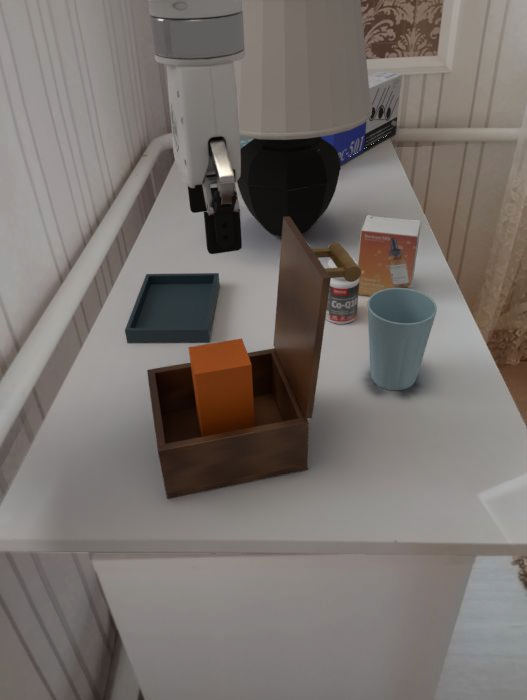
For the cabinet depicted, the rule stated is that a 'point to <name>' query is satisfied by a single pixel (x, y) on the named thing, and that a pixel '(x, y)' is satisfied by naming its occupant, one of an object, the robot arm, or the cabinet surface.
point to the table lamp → (297, 104)
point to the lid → (305, 308)
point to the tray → (174, 308)
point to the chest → (230, 447)
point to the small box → (387, 253)
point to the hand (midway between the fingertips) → (214, 229)
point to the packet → (222, 387)
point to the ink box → (372, 118)
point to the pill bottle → (342, 299)
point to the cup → (398, 335)
